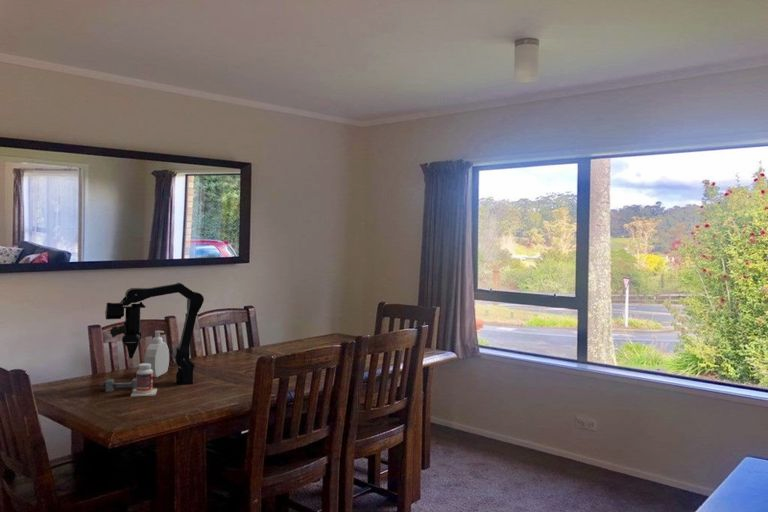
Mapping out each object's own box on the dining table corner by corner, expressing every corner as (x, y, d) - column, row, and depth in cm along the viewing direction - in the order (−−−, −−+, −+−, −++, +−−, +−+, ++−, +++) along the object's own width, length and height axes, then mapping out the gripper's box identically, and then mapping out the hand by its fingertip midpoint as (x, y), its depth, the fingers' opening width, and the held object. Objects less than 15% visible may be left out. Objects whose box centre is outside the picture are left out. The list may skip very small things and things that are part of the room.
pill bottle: (154, 392, 240) (154, 365, 239) (137, 394, 236) (138, 366, 236) (150, 389, 245) (151, 362, 245) (134, 390, 242) (135, 363, 241)
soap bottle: (155, 378, 265) (156, 333, 265) (143, 378, 265) (144, 333, 265) (170, 370, 281) (170, 328, 281) (158, 370, 281) (159, 328, 281)
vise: (140, 385, 252) (140, 376, 252) (138, 390, 245) (138, 380, 244) (101, 387, 248) (101, 377, 248) (97, 392, 240) (97, 382, 240)
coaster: (157, 389, 246) (157, 388, 246) (155, 395, 237) (155, 394, 237) (133, 390, 244) (133, 389, 244) (130, 396, 235) (130, 395, 235)
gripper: (114, 315, 254) (113, 352, 255) (108, 321, 237) (107, 361, 237) (142, 315, 258) (141, 351, 258) (139, 321, 240) (138, 360, 241)
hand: (131, 356), depth 248 cm, fingers open, 9 cm apart
